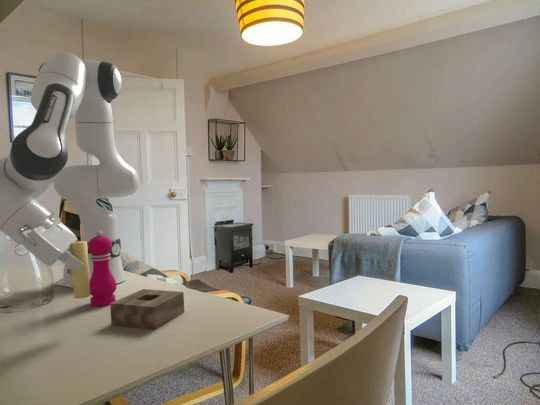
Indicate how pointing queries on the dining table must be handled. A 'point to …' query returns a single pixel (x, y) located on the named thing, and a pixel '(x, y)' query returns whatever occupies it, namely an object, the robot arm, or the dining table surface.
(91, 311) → the dining table surface
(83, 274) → the dowel
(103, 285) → the pepper mill
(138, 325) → the socket block
